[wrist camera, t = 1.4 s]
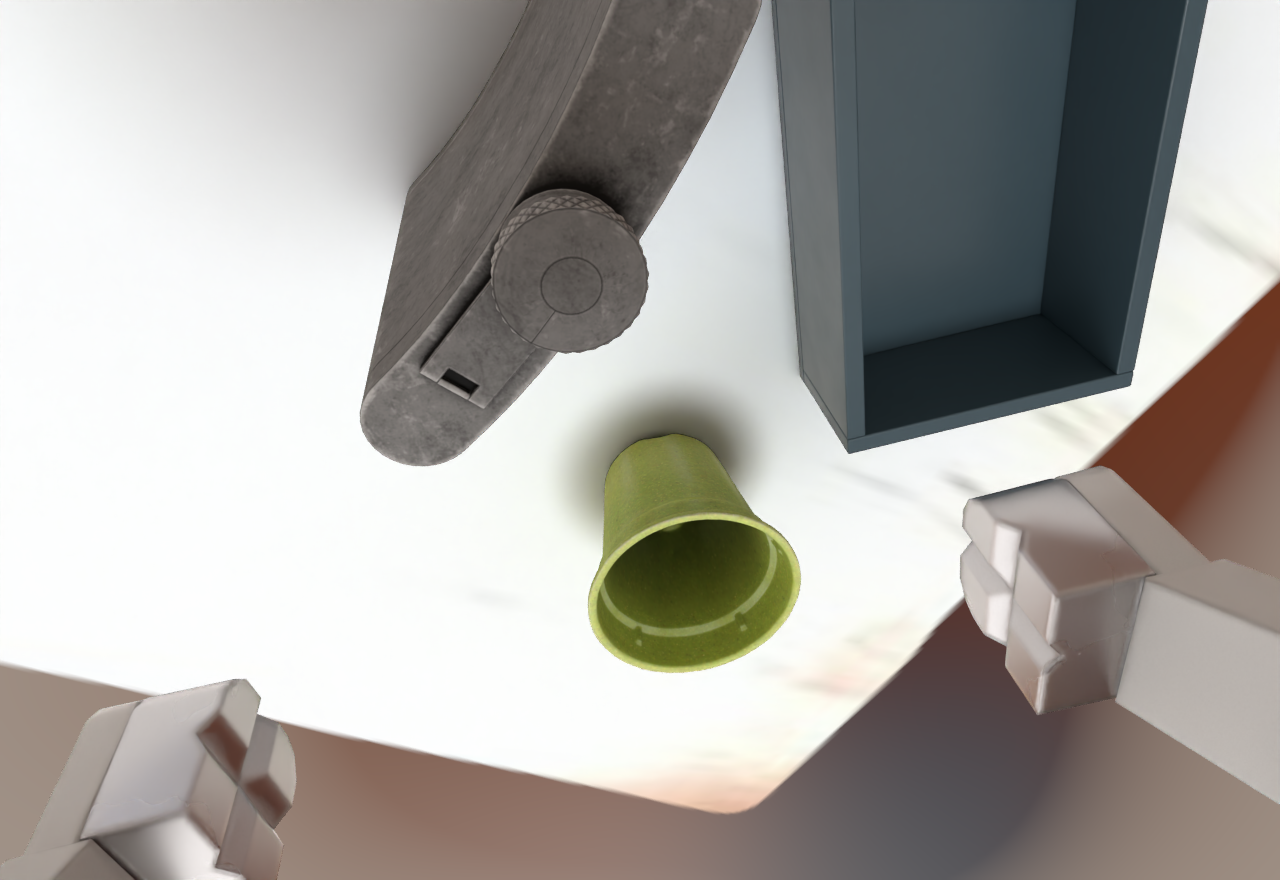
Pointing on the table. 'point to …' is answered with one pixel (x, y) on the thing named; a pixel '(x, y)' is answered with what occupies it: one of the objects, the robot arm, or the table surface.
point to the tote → (975, 199)
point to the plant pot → (685, 562)
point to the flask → (541, 211)
